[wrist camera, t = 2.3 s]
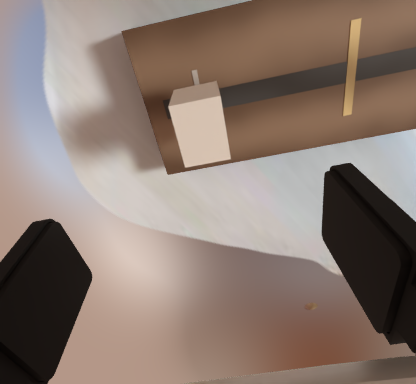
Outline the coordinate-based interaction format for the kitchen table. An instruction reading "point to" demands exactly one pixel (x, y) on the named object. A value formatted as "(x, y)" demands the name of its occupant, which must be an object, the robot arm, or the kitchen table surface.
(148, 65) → the control board
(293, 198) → the kitchen table surface
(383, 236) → the robot arm
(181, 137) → the block
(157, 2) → the kitchen table surface
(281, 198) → the kitchen table surface
